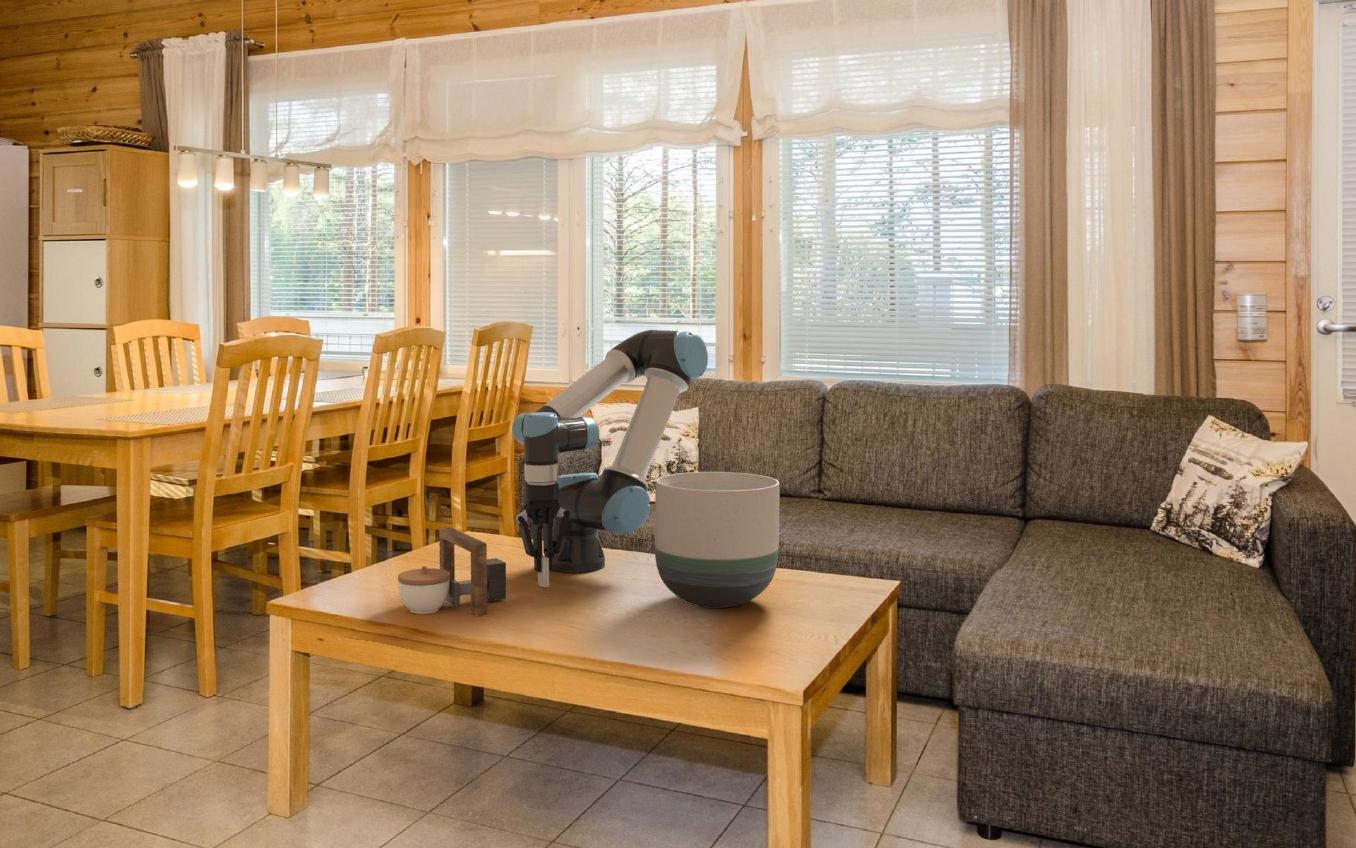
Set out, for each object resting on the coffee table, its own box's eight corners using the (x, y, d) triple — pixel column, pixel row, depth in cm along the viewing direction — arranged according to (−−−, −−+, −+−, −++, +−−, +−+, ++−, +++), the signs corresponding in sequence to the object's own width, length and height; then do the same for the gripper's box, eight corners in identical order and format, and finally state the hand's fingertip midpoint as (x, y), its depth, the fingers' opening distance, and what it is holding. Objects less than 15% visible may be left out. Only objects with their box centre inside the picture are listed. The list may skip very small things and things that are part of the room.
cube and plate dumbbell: (493, 591, 242) (492, 556, 241) (509, 600, 235) (509, 564, 234) (439, 599, 235) (439, 563, 235) (455, 608, 228) (454, 571, 227)
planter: (790, 594, 245) (792, 475, 242) (759, 626, 219) (761, 494, 217) (678, 583, 253) (679, 468, 251) (636, 612, 228) (636, 486, 225)
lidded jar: (440, 618, 223) (439, 573, 222) (390, 616, 224) (389, 571, 223) (457, 604, 233) (457, 561, 232) (409, 602, 235) (409, 559, 234)
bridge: (450, 592, 243) (450, 526, 241) (487, 614, 226) (486, 543, 224) (440, 594, 241) (439, 527, 240) (475, 616, 224) (475, 545, 223)
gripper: (560, 477, 248) (562, 577, 251) (507, 482, 241) (510, 585, 244) (575, 481, 242) (577, 584, 244) (521, 487, 235) (524, 593, 238)
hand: (543, 585), depth 244 cm, fingers closed
